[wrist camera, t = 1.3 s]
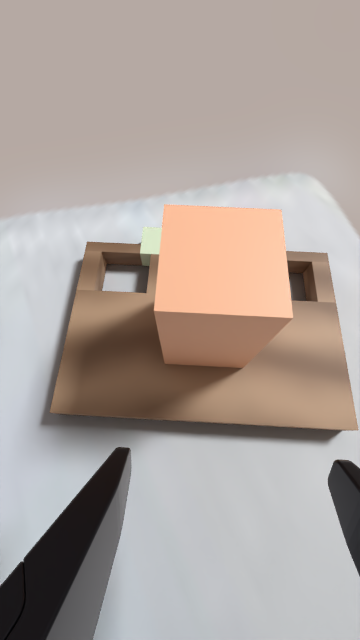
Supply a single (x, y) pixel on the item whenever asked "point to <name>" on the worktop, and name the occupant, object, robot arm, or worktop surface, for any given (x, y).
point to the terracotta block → (220, 284)
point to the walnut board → (201, 381)
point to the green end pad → (150, 244)
